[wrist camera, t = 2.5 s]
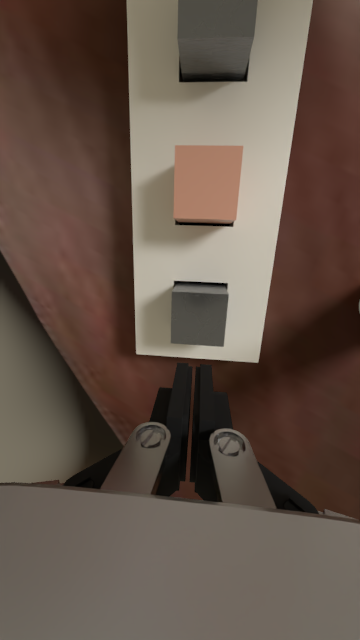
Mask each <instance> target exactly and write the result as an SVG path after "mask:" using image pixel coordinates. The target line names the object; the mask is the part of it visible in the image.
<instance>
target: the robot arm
mask: <svg viewBox="0 0 360 640" xmlns="http://www.w3.org/2000/svg"><path fill="white" fill-rule="evenodd" d="M191 383H192V367H191V366H188V363H177V368H176V373H175V378H174V383H173V388H161V387H160V388H159V391H158V394H157V397H156V401H155V404H154V408H153V411H152V415H151V418H150V421H149V422H147V423H144V424H141V425H139V426H138V427H136V428H135V430H134V431H133V432H132V434H131V435H130V437H129V439H128V441H127V442H126V444H125V446H124V448H122V449H121V450H119V451H117V452H115V453H113V454H112V455H110V456H108V457H106V458H104V459H102V460H101V461H99V462H97V463H95V464H93V465H92V466H90V467H88V468H86V469H84V470H83V471H81V472H79V473H77V474H76V475H74V476H72V477H71V478H70V479H68V480H67V481H66V482H65V483H59V480H54V481H45V482H37V483H15V482H11V483H0V640H360V520H357V519H354V518H351V517H348V516H344V515H341V514H338V513H335V512H332V511H329V510H326V509H324V511H323V513H322V512H319V511H317V510H316V508H315V507H314V506H313V505H312V504H311V503H310V502H309V501H308V500H307V499H305V498H304V497H303V496H301V495H300V494H299V493H298V492H296V491H295V490H294V489H292V488H291V487H290V486H288V485H287V484H286V483H285V482H283V481H282V480H281V479H279V478H278V477H277V476H276V475H274V474H273V473H272V472H270V471H269V470H268V469H267V468H265V467H264V466H263V465H261V464H260V463H259V462H258V461H257V460H256V458H255V455H254V453H253V451H252V448H251V446H250V444H249V442H248V440H247V438H246V437H245V436H244V435H242V434H241V433H239V432H238V431H235V430H233V427H232V421H231V415H230V409H229V403H228V396H227V393H225V392H213V381H212V367H211V365H203V364H200V367H196V375H195V392H194V408H193V427H192V446H191V466H190V482H195V492H196V493H198V494H199V496H200V497H201V498H202V499H203V500H204V501H203V500H194V499H185V498H176V497H169V496H170V495H171V494H173V493H174V492H175V491H176V490H177V491H179V485H180V481H185V475H186V461H187V447H188V433H189V419H190V401H191Z"/></svg>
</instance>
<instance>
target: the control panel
mask: <svg viewBox="0 0 360 640" xmlns="http://www.w3.org/2000/svg"><path fill="white" fill-rule="evenodd" d="M312 4H313V0H258V3H257V14H256V24H255V34H254V40H253V44H252V48H251V51H250V55H249V59H248V63H247V67H246V71H245V75H244V79H243V82H183V79H182V71H181V63H180V55H179V48H178V40H177V34H178V0H127V33H128V70H129V107H130V144H131V181H132V218H133V255H134V292H135V329H136V354H142V355H156V356H170V357H184V358H198V359H213V360H227V361H241V362H255V363H258V361H259V354H260V348H261V341H262V335H263V328H264V321H265V315H266V308H267V302H268V295H269V288H270V282H271V275H272V269H273V262H274V255H275V249H276V242H277V236H278V229H279V222H280V216H281V209H282V203H283V196H284V189H285V183H286V176H287V170H288V163H289V156H290V150H291V143H292V137H293V130H294V123H295V117H296V110H297V103H298V97H299V90H300V84H301V77H302V70H303V64H304V57H305V51H306V44H307V37H308V31H309V24H310V18H311V11H312ZM175 145H207V146H243V156H242V166H241V176H240V186H239V196H238V207H237V217H236V220H235V221H234V222H232V223H230V225H229V227H225V226H192V225H179V222H178V221H177V220H175V219H174V218H173V213H174V168H175ZM177 281H193V282H214V283H224V285H225V287H226V289H227V292H228V294H229V298H228V308H227V318H226V328H225V339H224V347H218V346H203V345H188V344H173V343H171V302H172V290H173V289H174V287H175V285H176V284H177Z"/></svg>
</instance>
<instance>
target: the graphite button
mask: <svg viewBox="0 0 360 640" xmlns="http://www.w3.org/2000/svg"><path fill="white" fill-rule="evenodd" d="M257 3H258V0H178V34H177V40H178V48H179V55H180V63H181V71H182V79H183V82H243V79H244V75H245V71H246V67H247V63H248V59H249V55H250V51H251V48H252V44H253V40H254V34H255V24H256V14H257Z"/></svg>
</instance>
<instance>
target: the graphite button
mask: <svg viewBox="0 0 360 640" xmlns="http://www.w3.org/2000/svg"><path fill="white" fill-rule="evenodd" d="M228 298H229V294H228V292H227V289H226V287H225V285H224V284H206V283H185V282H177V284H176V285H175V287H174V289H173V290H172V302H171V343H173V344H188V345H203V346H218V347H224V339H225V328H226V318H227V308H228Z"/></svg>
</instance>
